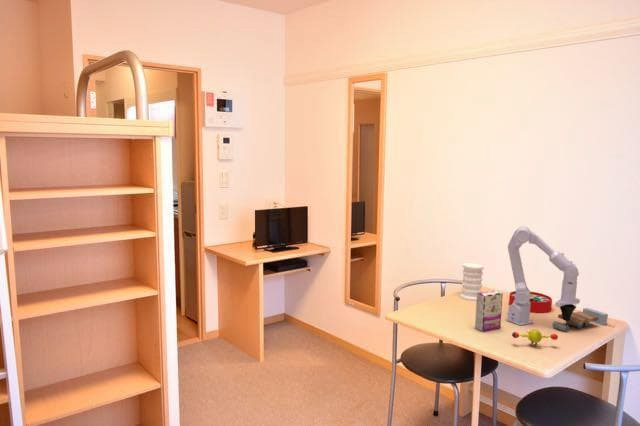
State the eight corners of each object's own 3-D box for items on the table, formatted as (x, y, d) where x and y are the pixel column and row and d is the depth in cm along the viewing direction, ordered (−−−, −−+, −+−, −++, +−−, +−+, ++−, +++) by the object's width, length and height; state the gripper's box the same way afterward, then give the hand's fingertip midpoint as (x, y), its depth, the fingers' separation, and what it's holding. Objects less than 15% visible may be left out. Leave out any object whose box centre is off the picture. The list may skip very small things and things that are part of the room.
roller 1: (565, 326, 208) (569, 325, 209) (552, 321, 213) (556, 320, 215) (564, 332, 208) (568, 331, 210) (552, 328, 214) (556, 327, 215)
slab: (576, 324, 209) (577, 320, 209) (558, 317, 217) (558, 314, 217) (598, 320, 217) (598, 317, 217) (579, 314, 225) (579, 311, 225)
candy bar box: (491, 324, 215) (494, 289, 213) (500, 328, 211) (503, 292, 209) (473, 328, 210) (476, 292, 208) (482, 332, 206) (485, 295, 204)
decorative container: (459, 293, 263) (461, 262, 261) (481, 295, 260) (483, 263, 258) (460, 299, 252) (462, 266, 250) (482, 302, 249) (485, 268, 247)
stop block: (602, 325, 219) (604, 315, 218) (582, 318, 228) (583, 308, 227) (606, 324, 220) (607, 314, 220) (585, 317, 229) (586, 307, 228)
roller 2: (583, 322, 214) (581, 329, 214) (570, 318, 220) (568, 324, 219) (579, 321, 213) (577, 327, 213) (567, 317, 218) (565, 323, 218)
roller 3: (585, 327, 216) (585, 320, 215) (572, 323, 221) (573, 316, 221) (589, 326, 217) (590, 320, 217) (576, 322, 222) (577, 315, 222)
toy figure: (553, 344, 195) (554, 328, 194) (559, 349, 189) (560, 333, 188) (508, 342, 195) (510, 326, 194) (513, 347, 190) (515, 331, 189)
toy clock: (523, 288, 257) (559, 298, 241) (522, 299, 257) (558, 309, 241) (501, 294, 245) (538, 304, 229) (500, 305, 246) (537, 316, 230)
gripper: (567, 295, 204) (564, 325, 206) (587, 291, 211) (584, 320, 213) (552, 290, 210) (549, 320, 212) (572, 287, 217) (569, 316, 219)
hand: (566, 320), depth 213 cm, fingers closed
